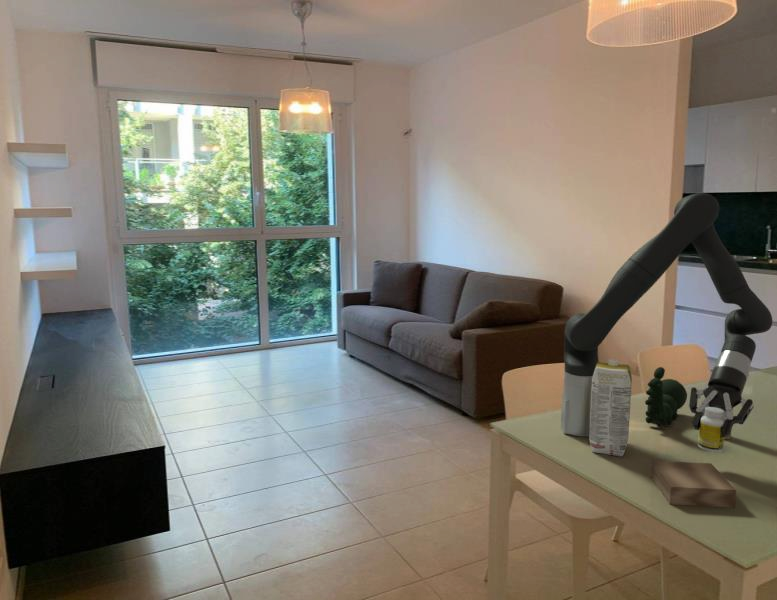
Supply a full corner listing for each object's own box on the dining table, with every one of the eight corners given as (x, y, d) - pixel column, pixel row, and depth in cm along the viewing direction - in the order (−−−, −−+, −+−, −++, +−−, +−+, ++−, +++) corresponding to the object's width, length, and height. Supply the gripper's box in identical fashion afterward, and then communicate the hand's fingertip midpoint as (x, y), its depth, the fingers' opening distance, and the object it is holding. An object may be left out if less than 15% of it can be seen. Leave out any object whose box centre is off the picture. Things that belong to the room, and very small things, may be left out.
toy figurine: (669, 441, 164) (691, 408, 183) (672, 376, 160) (694, 350, 178) (634, 433, 170) (659, 402, 189) (636, 370, 166) (661, 346, 184)
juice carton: (628, 447, 156) (633, 359, 152) (626, 459, 149) (632, 366, 145) (590, 442, 160) (595, 355, 156) (587, 453, 153) (592, 363, 149)
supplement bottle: (722, 454, 139) (726, 415, 138) (696, 449, 142) (700, 410, 141) (723, 446, 144) (727, 408, 142) (698, 441, 147) (702, 404, 145)
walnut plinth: (669, 504, 126) (671, 486, 126) (651, 476, 139) (652, 460, 139) (734, 507, 125) (736, 490, 124) (709, 479, 137) (711, 463, 137)
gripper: (696, 359, 150) (674, 416, 144) (761, 371, 140) (741, 432, 134) (701, 375, 154) (681, 431, 148) (764, 387, 144) (745, 448, 138)
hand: (709, 431), depth 141 cm, fingers closed on supplement bottle, 5 cm apart
